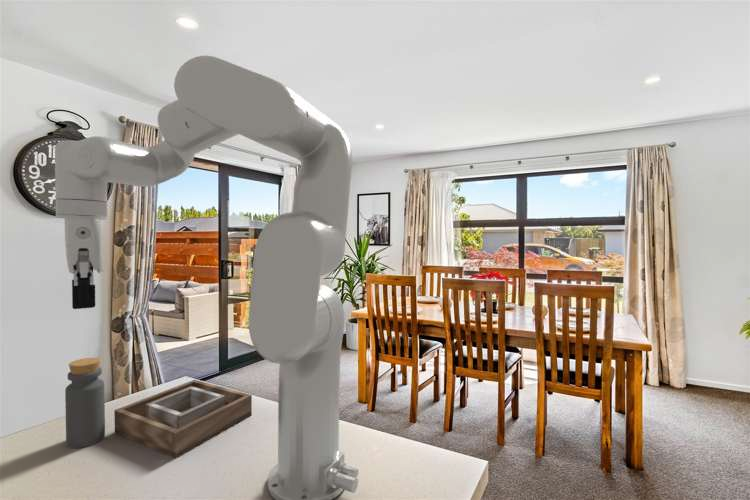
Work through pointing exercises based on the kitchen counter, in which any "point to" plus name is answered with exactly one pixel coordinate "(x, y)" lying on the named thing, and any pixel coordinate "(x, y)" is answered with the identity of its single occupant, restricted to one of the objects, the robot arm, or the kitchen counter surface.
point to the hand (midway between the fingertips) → (83, 303)
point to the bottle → (85, 404)
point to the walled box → (182, 416)
